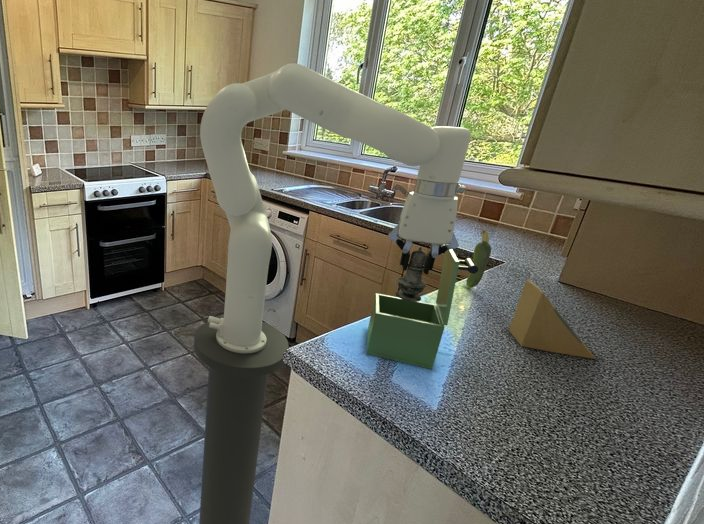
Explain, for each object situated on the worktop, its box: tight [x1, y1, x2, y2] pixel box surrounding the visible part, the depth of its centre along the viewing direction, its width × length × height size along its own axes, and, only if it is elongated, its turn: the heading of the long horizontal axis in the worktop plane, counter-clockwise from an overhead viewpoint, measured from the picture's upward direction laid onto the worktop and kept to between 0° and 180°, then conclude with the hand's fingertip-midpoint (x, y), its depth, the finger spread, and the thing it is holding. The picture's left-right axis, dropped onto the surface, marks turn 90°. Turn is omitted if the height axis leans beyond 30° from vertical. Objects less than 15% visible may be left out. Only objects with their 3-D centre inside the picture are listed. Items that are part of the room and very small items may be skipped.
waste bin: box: [366, 292, 445, 370], centre depth 96 cm, size 14×12×11 cm
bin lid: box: [435, 249, 478, 326], centre depth 88 cm, size 14×12×5 cm
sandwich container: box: [508, 279, 597, 360], centre depth 100 cm, size 9×15×15 cm, turn 72°
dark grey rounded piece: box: [395, 246, 427, 302], centre depth 91 cm, size 6×6×12 cm
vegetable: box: [465, 229, 492, 290], centre depth 129 cm, size 4×4×20 cm
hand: (414, 269), depth 91 cm, fingers closed on dark grey rounded piece, 3 cm apart
